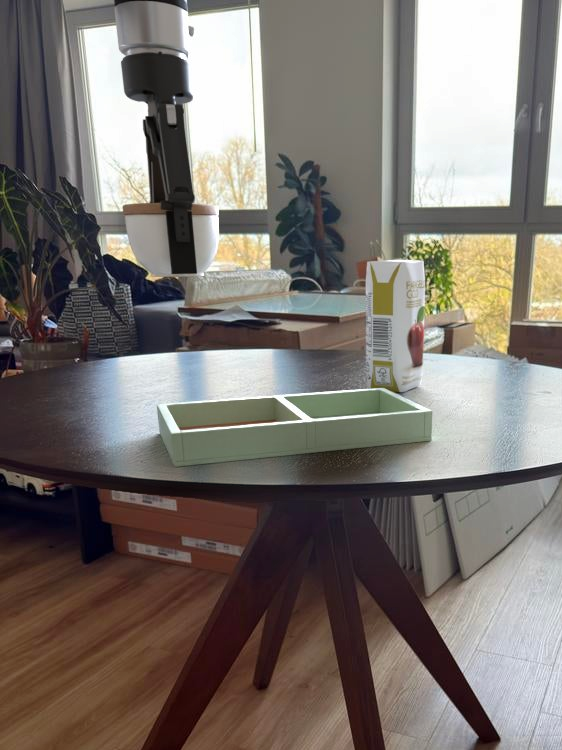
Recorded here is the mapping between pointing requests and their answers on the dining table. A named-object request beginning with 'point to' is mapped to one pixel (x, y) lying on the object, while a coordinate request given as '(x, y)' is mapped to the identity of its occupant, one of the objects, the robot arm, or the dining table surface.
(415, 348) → the juice carton
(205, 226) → the trinket box
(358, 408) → the divided tray
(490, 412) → the dining table surface
